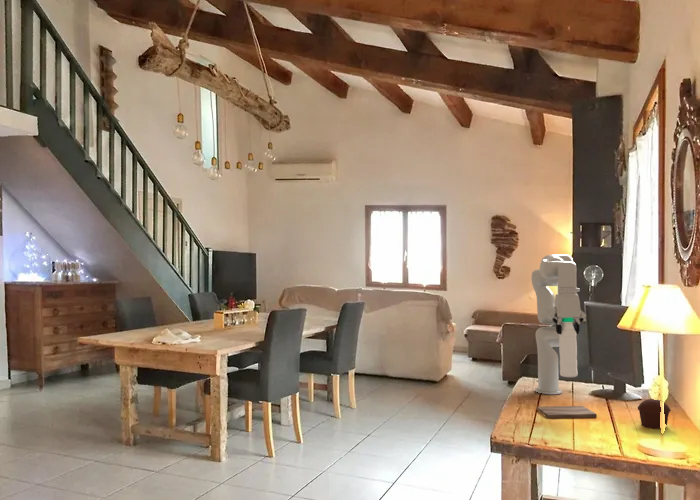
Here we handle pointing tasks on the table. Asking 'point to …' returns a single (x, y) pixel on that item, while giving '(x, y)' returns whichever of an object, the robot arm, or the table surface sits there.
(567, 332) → the water bottle
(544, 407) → the walnut board
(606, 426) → the table surface
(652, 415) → the muffin
